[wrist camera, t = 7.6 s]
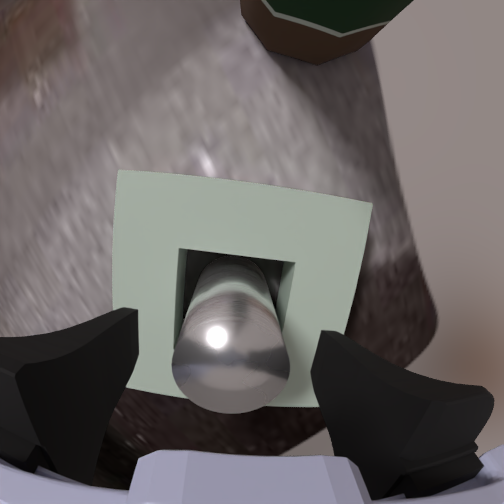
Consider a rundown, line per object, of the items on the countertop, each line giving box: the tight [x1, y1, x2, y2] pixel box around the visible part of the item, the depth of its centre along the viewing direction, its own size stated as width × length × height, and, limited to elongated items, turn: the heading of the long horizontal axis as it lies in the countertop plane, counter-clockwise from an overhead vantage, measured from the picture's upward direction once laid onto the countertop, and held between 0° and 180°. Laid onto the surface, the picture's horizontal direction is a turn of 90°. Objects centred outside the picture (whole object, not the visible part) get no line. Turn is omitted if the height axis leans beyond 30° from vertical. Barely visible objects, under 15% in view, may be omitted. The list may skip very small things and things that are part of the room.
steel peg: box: [171, 256, 290, 414], centre depth 13 cm, size 4×4×8 cm
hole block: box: [112, 170, 373, 407], centre depth 16 cm, size 12×12×3 cm
